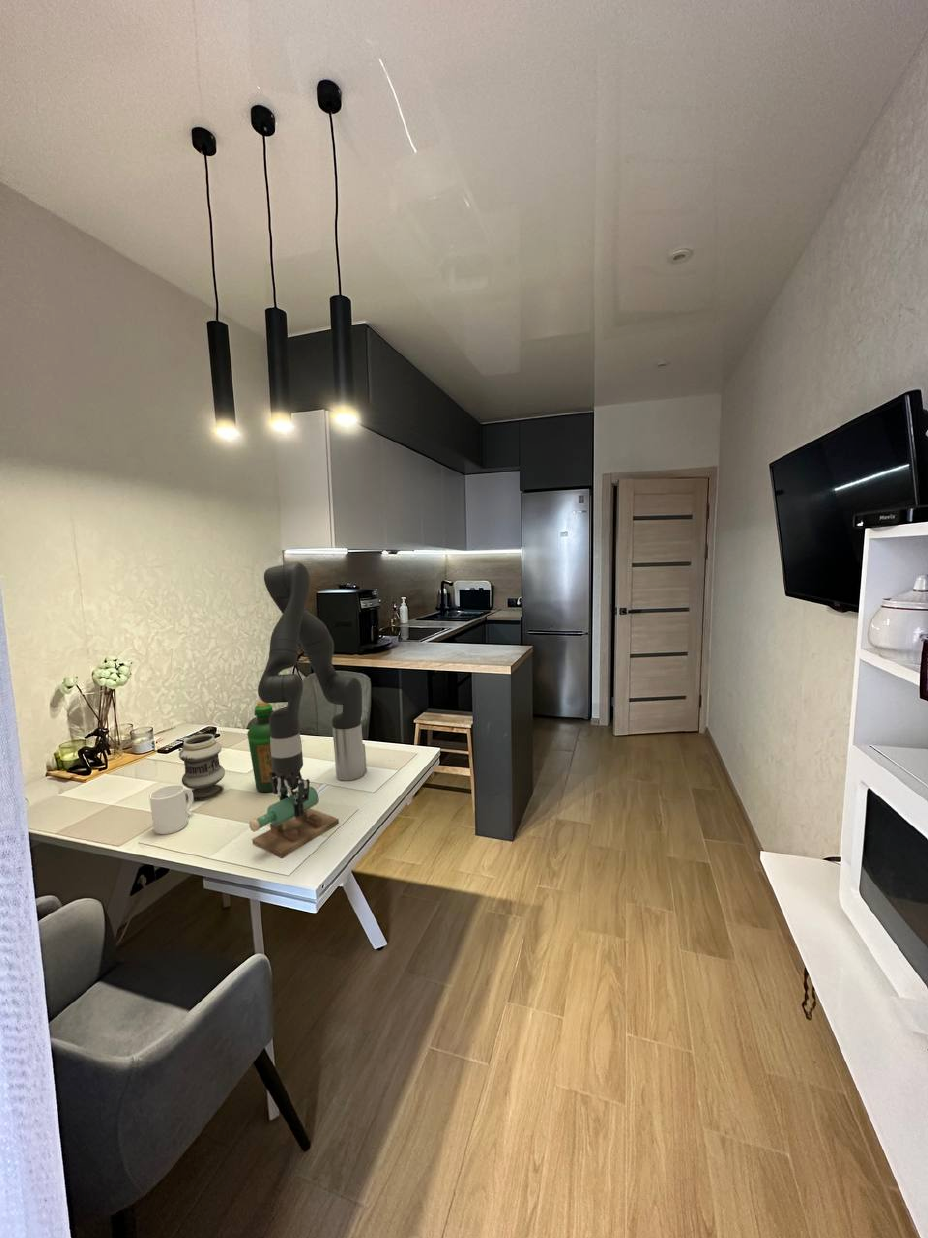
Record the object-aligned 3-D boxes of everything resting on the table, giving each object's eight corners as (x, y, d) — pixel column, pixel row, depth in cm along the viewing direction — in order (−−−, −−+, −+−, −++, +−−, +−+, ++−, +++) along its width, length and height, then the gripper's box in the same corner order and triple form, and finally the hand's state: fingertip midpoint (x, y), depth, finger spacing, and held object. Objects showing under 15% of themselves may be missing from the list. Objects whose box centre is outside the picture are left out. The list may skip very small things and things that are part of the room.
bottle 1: (276, 796, 152) (268, 707, 149) (245, 794, 154) (236, 707, 151) (295, 780, 162) (287, 697, 159) (265, 779, 165) (257, 696, 161)
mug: (184, 811, 146) (180, 777, 144) (206, 814, 143) (202, 780, 142) (146, 833, 134) (141, 797, 133) (169, 837, 132) (165, 800, 130)
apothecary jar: (177, 804, 149) (170, 747, 147) (192, 786, 161) (186, 733, 159) (219, 800, 151) (213, 743, 149) (231, 782, 163) (226, 729, 161)
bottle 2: (307, 802, 136) (305, 784, 136) (319, 807, 134) (317, 788, 133) (247, 833, 122) (245, 813, 121) (260, 839, 119) (257, 818, 119)
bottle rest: (310, 812, 142) (308, 800, 141) (338, 823, 135) (337, 810, 134) (252, 843, 127) (251, 830, 126) (281, 858, 120) (280, 844, 120)
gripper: (316, 751, 126) (321, 814, 129) (281, 741, 135) (287, 800, 137) (291, 761, 120) (297, 827, 122) (256, 750, 128) (262, 812, 131)
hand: (292, 813), depth 130 cm, fingers closed on bottle 2, 5 cm apart
